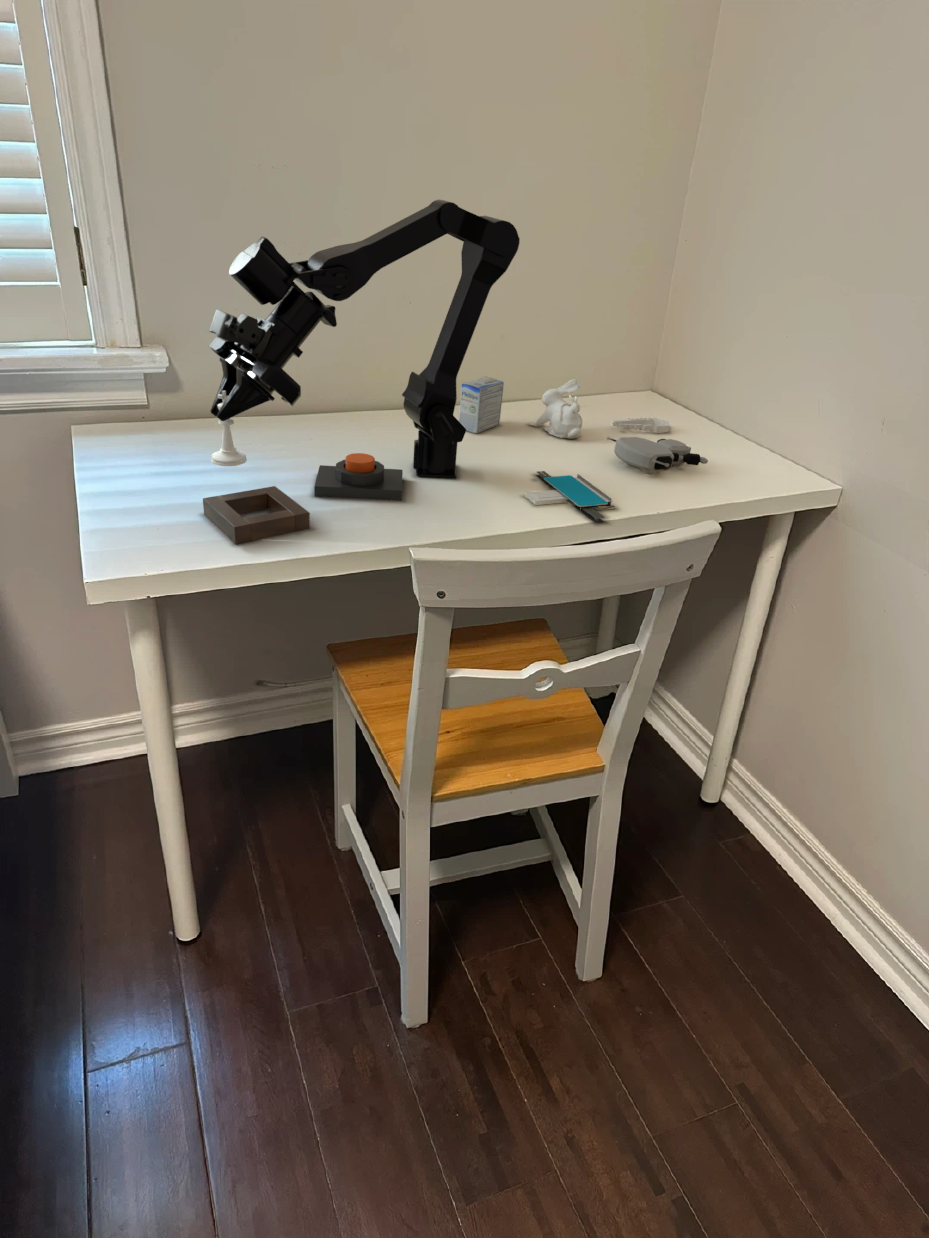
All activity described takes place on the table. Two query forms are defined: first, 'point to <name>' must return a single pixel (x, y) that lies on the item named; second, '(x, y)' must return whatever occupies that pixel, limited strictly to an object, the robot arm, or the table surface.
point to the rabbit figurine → (561, 412)
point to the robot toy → (655, 453)
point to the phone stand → (572, 495)
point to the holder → (242, 530)
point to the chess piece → (227, 443)
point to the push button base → (358, 483)
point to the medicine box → (481, 404)
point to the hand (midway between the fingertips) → (216, 416)
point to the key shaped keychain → (643, 424)
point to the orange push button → (360, 462)
